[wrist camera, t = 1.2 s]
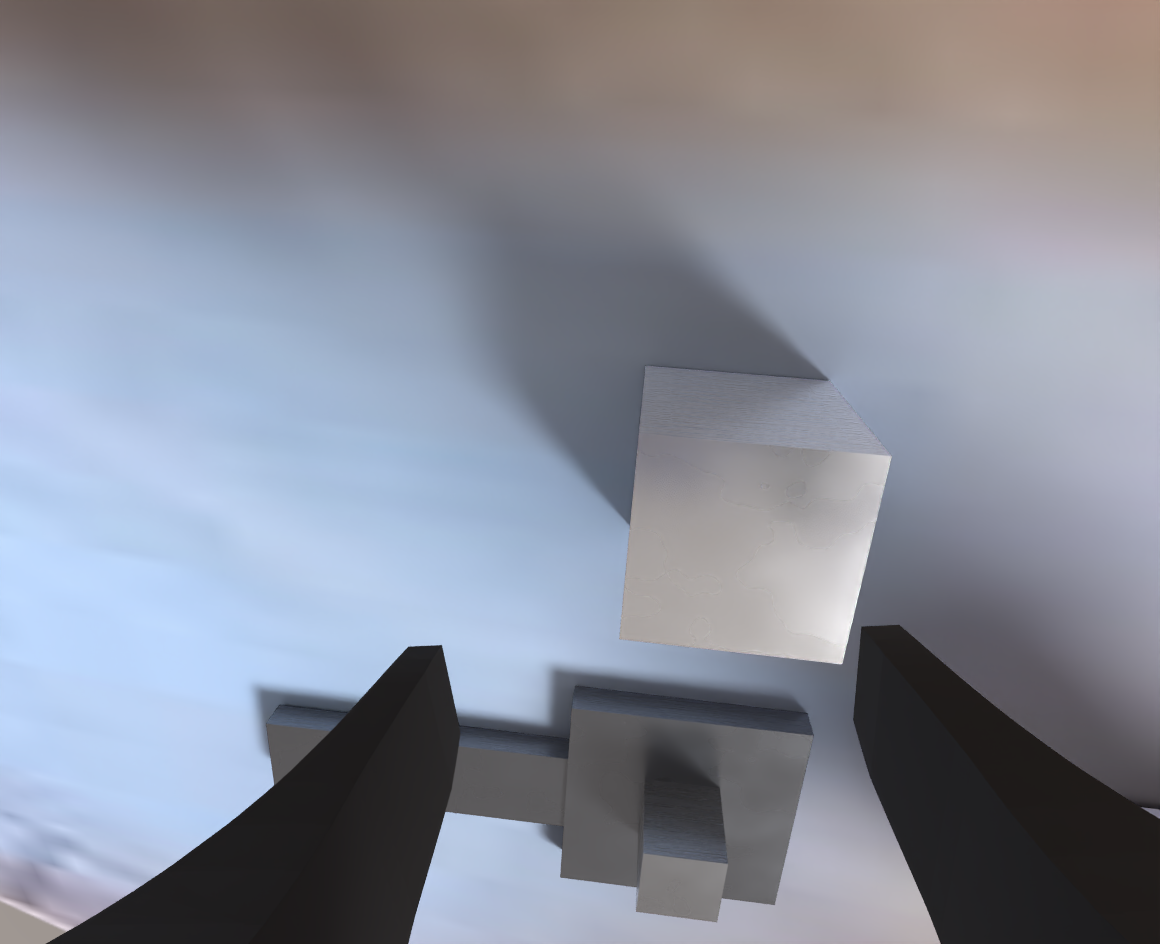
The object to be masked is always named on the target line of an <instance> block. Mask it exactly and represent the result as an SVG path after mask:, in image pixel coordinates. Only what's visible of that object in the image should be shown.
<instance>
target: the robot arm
mask: <svg viewBox="0 0 1160 944" xmlns="http://www.w3.org/2000/svg"><path fill="white" fill-rule="evenodd" d="M853 720H854V724H855V727H856V731H857V734H858V738H859V741H860V745H861V749H862V752H863V755H864V758H865V762H866V765H867V768H868V771H869V775H870V778H871V780H872V783H873V785H874V787H875V790H876V792H877V794H878V797H879V799H880V801H881V804H882V806H883V808H884V811H885V813H886V815H887V818H888V820H889V822H890V825H891V827H892V829H893V832H894V834H895V836H896V839H897V841H898V843H899V845H900V848H901V850H902V852H903V855H904V857H905V859H906V861H907V864H908V866H909V868H910V871H911V873H912V875H913V877H914V880H915V882H916V884H917V887H918V889H919V891H920V893H921V896H922V898H923V900H924V903H925V905H926V907H927V910H928V912H929V915H930V917H931V920H932V922H933V925H934V927H935V930H936V933H937V935H938V938H939V940H940V943H941V944H1160V810H1159V809H1151V808H1143V807H1139V806H1138V805H1136V804H1134V803H1133V802H1131V801H1129V800H1128V799H1126V798H1125V797H1123V796H1122V795H1120V794H1118V793H1117V792H1115V791H1114V790H1112V789H1111V788H1109V787H1108V786H1106V785H1104V784H1103V783H1101V782H1100V781H1098V780H1097V779H1095V778H1094V777H1092V776H1090V775H1089V774H1087V773H1086V772H1084V771H1083V770H1081V769H1080V768H1078V767H1077V766H1075V765H1074V764H1072V763H1071V762H1069V761H1068V760H1067V759H1065V758H1064V757H1062V756H1061V755H1059V754H1058V753H1057V752H1055V751H1054V750H1052V749H1051V748H1050V747H1048V746H1047V745H1046V744H1044V743H1043V742H1042V741H1040V740H1039V739H1037V738H1036V737H1035V736H1033V735H1032V734H1031V733H1029V732H1028V731H1027V730H1025V729H1024V728H1022V727H1021V726H1020V725H1019V724H1017V723H1016V722H1015V721H1013V720H1012V719H1011V718H1009V717H1008V716H1007V715H1006V714H1004V713H1003V712H1002V711H1000V710H999V709H998V708H997V707H995V706H994V705H993V704H992V703H990V702H989V701H988V700H987V699H985V698H984V697H983V696H982V695H981V694H979V693H978V692H977V691H976V690H974V689H973V688H972V687H971V686H970V685H968V684H967V683H966V682H965V681H964V680H962V679H961V678H960V677H959V676H958V675H957V674H955V673H954V672H953V671H952V670H951V669H950V668H948V667H947V666H946V665H945V664H944V663H943V662H941V661H940V660H939V659H938V658H937V657H936V656H934V655H933V654H932V653H931V652H930V651H929V650H928V649H926V648H925V647H924V646H923V645H922V644H921V643H920V642H918V641H917V640H916V639H915V638H914V637H913V636H911V635H910V634H909V633H908V632H907V631H906V630H904V629H903V628H902V627H901V626H900V625H888V626H865V627H861V639H860V650H859V661H858V672H857V684H856V695H855V706H854V718H853ZM460 734H461V733H460V728H459V723H458V719H457V714H456V709H455V704H454V700H453V695H452V690H451V686H450V681H449V676H448V672H447V667H446V662H445V658H444V653H443V648H442V645H436V646H414V647H408V648H407V649H406V650H405V651H404V652H403V653H402V654H401V655H400V656H399V657H398V658H397V659H396V660H395V662H394V663H393V664H392V665H391V666H390V667H389V668H388V669H387V670H386V672H385V673H384V674H383V675H382V676H381V677H380V678H379V679H378V680H377V682H376V683H375V684H374V685H373V686H372V687H371V688H370V689H369V690H368V692H367V693H366V694H365V695H364V696H363V697H362V698H361V699H360V700H359V702H358V703H357V704H356V705H355V706H354V707H353V708H352V709H351V710H350V711H349V712H348V713H347V714H346V715H345V716H344V718H343V719H342V720H341V721H340V722H339V723H338V724H337V725H336V726H335V727H334V728H333V729H332V730H331V731H330V732H329V733H328V734H327V736H326V737H324V738H323V739H322V740H321V741H320V742H319V743H318V744H317V745H316V746H315V747H314V748H313V749H312V750H311V751H310V752H309V753H308V754H307V755H306V756H305V757H304V758H303V759H302V760H301V761H300V762H299V763H298V764H297V765H296V766H295V767H294V768H293V769H292V770H291V771H290V772H289V773H287V774H286V775H285V776H284V777H283V778H282V779H281V780H280V781H279V782H278V783H276V784H275V785H274V786H273V787H272V788H271V789H270V790H268V791H267V792H266V793H265V794H264V795H263V796H261V797H260V798H259V799H258V800H257V801H255V802H254V803H253V804H252V805H251V806H249V807H248V808H247V809H246V810H245V811H243V812H242V813H241V814H240V815H239V816H237V817H236V818H235V819H234V820H232V821H231V822H230V823H229V824H227V825H226V826H225V827H223V828H222V829H221V830H219V831H218V832H217V833H215V834H214V835H212V836H211V837H210V838H208V839H207V840H206V841H204V842H203V843H202V844H200V845H199V846H198V847H196V848H195V849H193V850H192V851H191V852H189V853H188V854H187V855H185V856H184V857H183V858H181V859H180V860H179V861H177V862H176V863H175V864H173V865H172V866H170V867H169V868H167V869H166V870H165V871H163V872H162V873H160V874H159V875H157V876H156V877H154V878H153V879H151V880H150V881H148V882H147V883H145V884H144V885H142V886H141V887H139V888H138V889H136V890H135V891H133V892H131V893H130V894H128V895H127V896H125V897H124V898H122V899H120V900H119V901H117V902H116V903H114V904H112V905H111V906H109V907H108V908H106V909H105V910H103V911H101V912H100V913H98V914H96V915H95V916H93V917H91V918H90V919H88V920H86V921H85V922H83V923H81V924H80V925H78V926H76V927H75V928H73V929H71V930H69V931H67V932H66V933H64V934H62V935H60V936H59V937H57V938H55V939H53V940H52V941H50V942H48V943H46V944H408V942H409V938H410V934H411V930H412V926H413V922H414V918H415V914H416V911H417V908H418V904H419V901H420V897H421V894H422V890H423V887H424V884H425V880H426V877H427V873H428V870H429V866H430V863H431V860H432V856H433V853H434V849H435V846H436V842H437V839H438V836H439V832H440V829H441V825H442V822H443V818H444V815H445V811H446V808H447V804H448V800H449V797H450V793H451V790H452V784H453V778H454V773H455V767H456V761H457V754H458V747H459V741H460Z"/></svg>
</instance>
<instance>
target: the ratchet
mask: <svg viewBox="0 0 1160 944" xmlns="http://www.w3.org/2000/svg"><path fill="white" fill-rule="evenodd" d="M346 714H347V713H344V712H335V711H327V710H318V709H309V708H301V707H292V706H283V705H279V706H278V708H277V709H276V710H275V712H274V713H273V715H272V716H271V717H270V719H269V720H268V722H267V723H266V727H267V734H268V741H269V749H270V756H271V764H272V771H273V778H274V785H275V784H276V783H278V782H279V781H280V780H281V779H282V778H283V777H284V776H285V775H286V774H287V773H289V772H290V771H291V770H292V769H293V768H294V767H295V766H296V765H297V764H298V763H299V762H300V761H301V760H302V759H303V758H304V757H305V756H306V755H307V754H308V753H309V752H310V751H311V750H312V749H313V748H314V747H315V746H316V745H317V744H318V743H319V742H320V741H321V740H322V739H323V738H324V737H326V736H327V734H328V733H329V732H330V731H331V730H332V729H333V728H334V727H335V726H336V725H337V724H338V723H339V722H340V721H341V720H342V719H343V718H344V716H345V715H346ZM459 728H460V733H461V734H460V741H459V747H458V754H457V761H456V767H455V773H454V778H453V784H452V790H451V793H450V797H449V800H448V804H447V808H446V811H445V812H453V813H461V814H469V815H477V816H485V817H493V818H501V819H509V820H517V821H525V822H533V823H542V824H550V825H558V826H564V830H563V844H562V859H561V874H560V877H561V878H569V879H576V880H584V881H592V882H600V883H608V884H615V885H623V886H631V887H637V892H636V912H643V913H650V914H658V915H665V916H673V917H681V918H688V919H696V920H704V921H711V922H717V920H718V915H719V909H720V904H721V899H722V898H724V899H732V900H740V901H748V902H756V903H763V904H771V905H775V901H776V896H777V892H778V888H779V883H780V879H781V875H782V870H783V866H784V862H785V857H786V853H787V849H788V844H789V840H790V836H791V831H792V827H793V823H794V818H795V814H796V810H797V805H798V801H799V797H800V792H801V788H802V784H803V780H804V775H805V771H806V767H807V762H808V758H809V754H810V749H811V745H812V741H813V736H814V735H813V732H812V728H811V725H810V721H809V718H808V714H807V713H801V712H792V711H784V710H775V709H767V708H759V707H750V706H742V705H733V704H725V703H716V702H708V701H700V700H691V699H683V698H674V697H666V696H657V695H649V694H641V693H632V692H624V691H615V690H607V689H598V688H590V687H582V686H575V690H574V697H573V703H572V710H571V725H570V739H566V738H558V737H550V736H542V735H533V734H525V733H517V732H509V731H500V730H491V729H483V728H474V727H465V726H459Z"/></svg>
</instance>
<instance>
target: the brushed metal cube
mask: <svg viewBox="0 0 1160 944" xmlns="http://www.w3.org/2000/svg"><path fill="white" fill-rule="evenodd" d="M891 458H892V456H891V455H890V453H889V452H888V451H887V450H886V449H885V447H884V446H883V445H882V444H881V442H880V441H879V440H878V439H877V438H876V436H875V435H874V434H873V433H872V431H871V430H870V429H869V428H868V426H867V425H866V424H865V423H864V422H863V420H862V419H861V418H860V417H859V415H858V414H857V413H856V412H855V411H854V409H853V408H852V407H851V406H850V404H849V403H848V402H847V401H846V400H845V398H844V397H843V396H842V395H841V393H840V392H839V391H838V390H837V389H836V387H835V386H834V385H833V384H832V382H831V381H826V380H814V379H802V378H790V377H778V376H766V375H754V374H742V373H730V372H718V371H706V370H694V369H682V368H670V367H657V366H646V368H645V377H644V387H643V397H642V407H641V416H640V426H639V436H638V447H637V457H636V468H635V479H634V489H633V500H632V510H631V521H630V532H629V542H628V553H627V563H626V574H625V585H624V595H623V606H622V616H621V627H620V638H619V639H623V640H631V641H640V642H649V643H658V644H667V645H676V646H684V647H693V648H702V649H711V650H720V651H729V652H738V653H746V654H755V655H764V656H773V657H782V658H791V659H799V660H808V661H817V662H826V663H835V664H842V663H843V659H844V654H845V650H846V646H847V642H848V638H849V633H850V629H851V625H852V621H853V617H854V612H855V608H856V604H857V600H858V596H859V592H860V587H861V583H862V579H863V575H864V571H865V566H866V562H867V558H868V554H869V550H870V546H871V541H872V537H873V533H874V529H875V525H876V520H877V516H878V512H879V508H880V504H881V500H882V495H883V491H884V487H885V483H886V479H887V474H888V470H889V466H890V462H891Z"/></svg>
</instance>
